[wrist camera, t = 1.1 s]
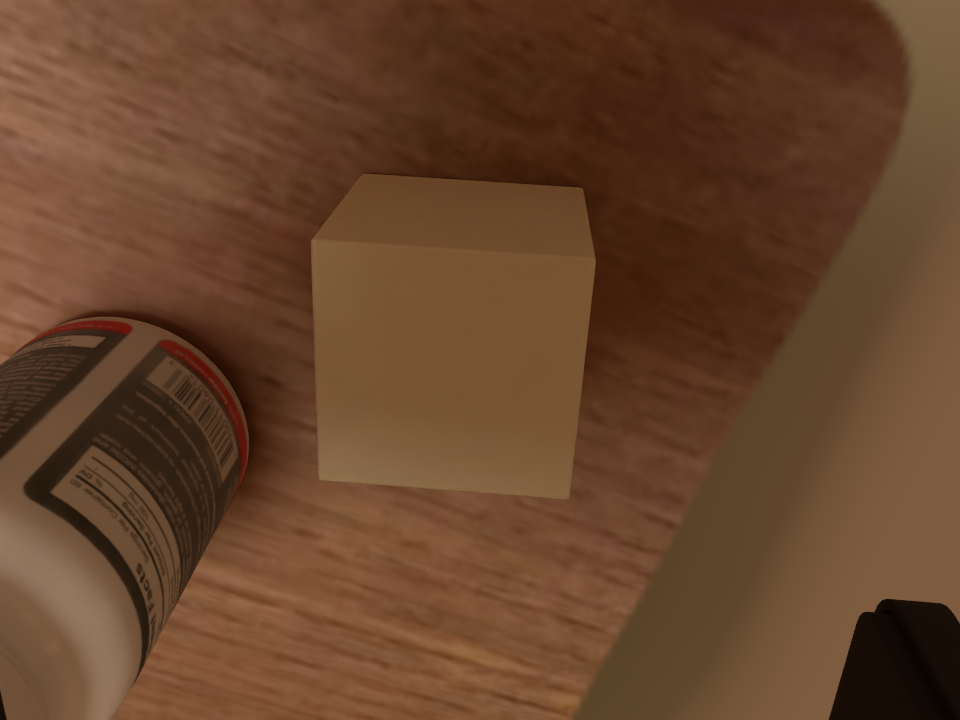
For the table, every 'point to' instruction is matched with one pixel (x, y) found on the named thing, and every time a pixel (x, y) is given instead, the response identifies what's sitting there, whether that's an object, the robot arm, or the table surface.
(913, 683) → the robot arm
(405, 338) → the cream block
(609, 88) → the table surface
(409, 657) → the table surface
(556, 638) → the table surface
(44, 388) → the pill bottle
